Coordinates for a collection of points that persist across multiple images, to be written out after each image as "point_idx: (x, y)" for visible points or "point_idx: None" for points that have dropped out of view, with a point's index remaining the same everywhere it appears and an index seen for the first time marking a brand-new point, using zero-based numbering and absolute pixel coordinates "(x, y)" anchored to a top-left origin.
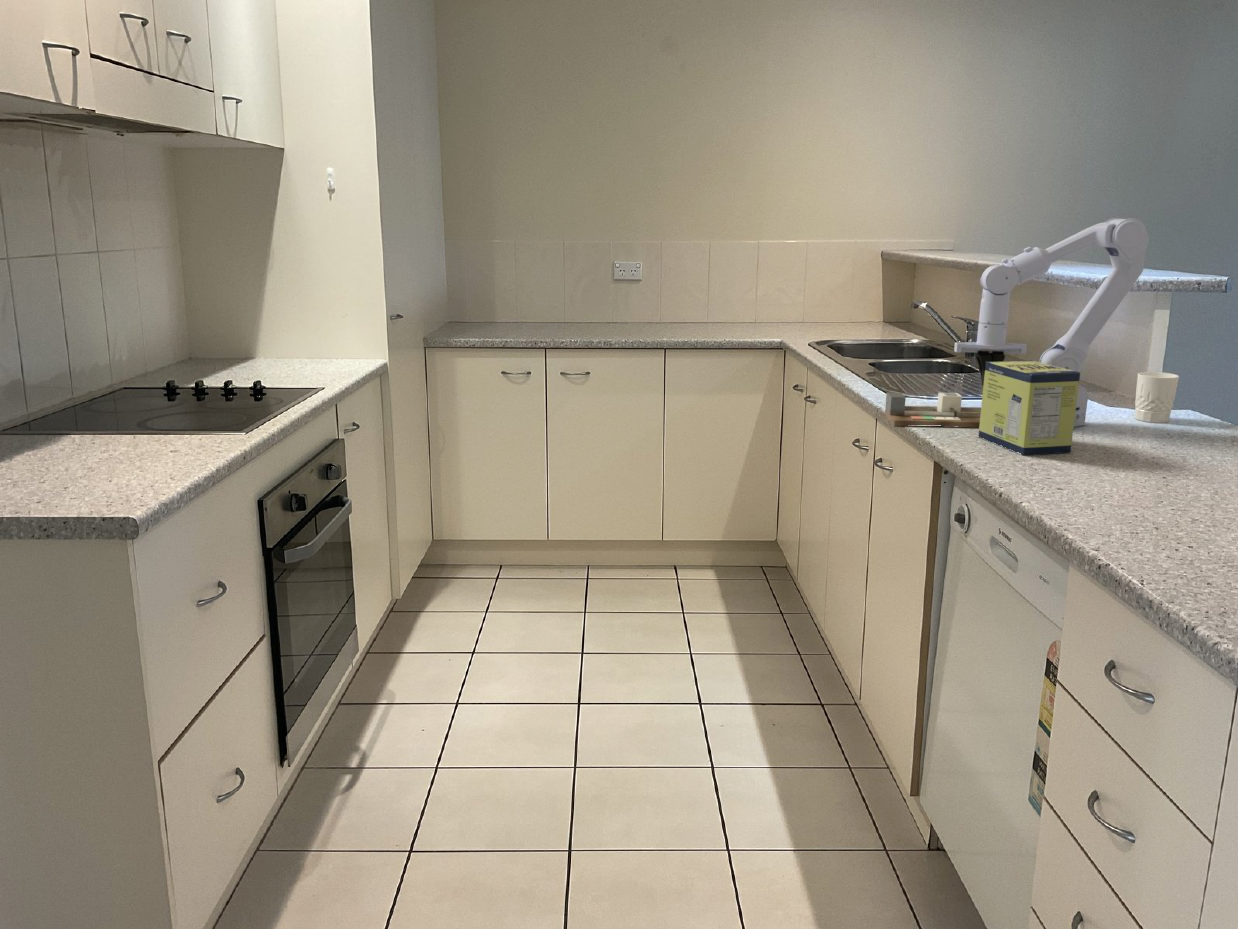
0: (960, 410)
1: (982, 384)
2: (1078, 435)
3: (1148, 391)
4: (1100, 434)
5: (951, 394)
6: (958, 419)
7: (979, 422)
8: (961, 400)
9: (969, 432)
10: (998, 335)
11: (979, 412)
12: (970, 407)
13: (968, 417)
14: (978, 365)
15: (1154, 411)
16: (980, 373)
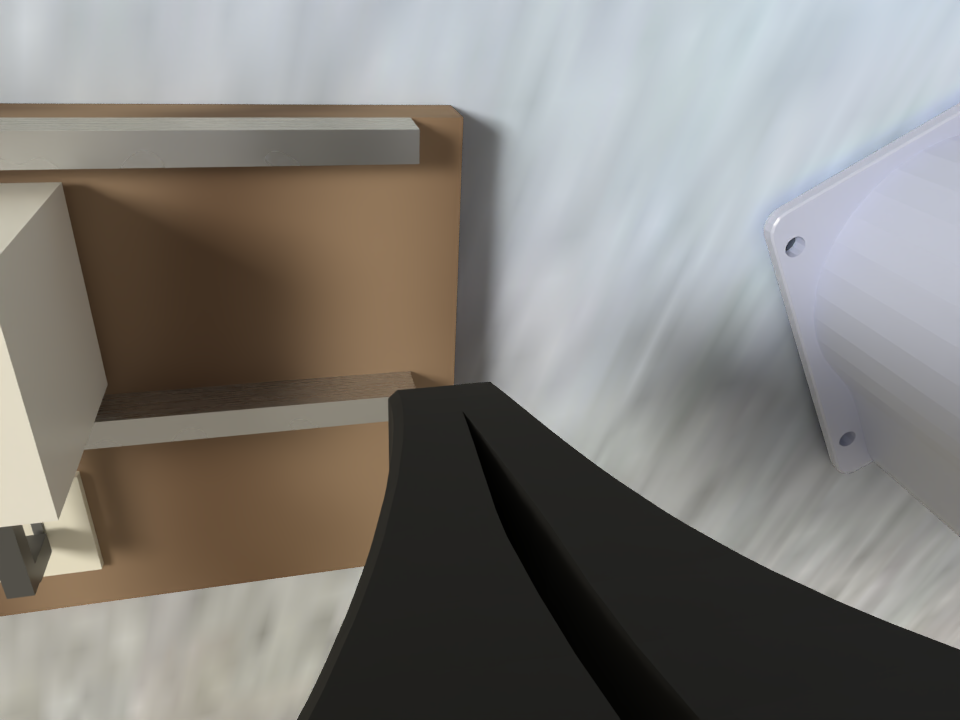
0: (97, 412)
1: (390, 452)
2: (827, 581)
3: None
4: (956, 534)
5: None
6: (76, 565)
7: (267, 578)
8: (71, 481)
9: (167, 677)
10: None
11: (310, 417)
12: (260, 159)
13: None
14: (338, 646)
15: None
16: (384, 501)
